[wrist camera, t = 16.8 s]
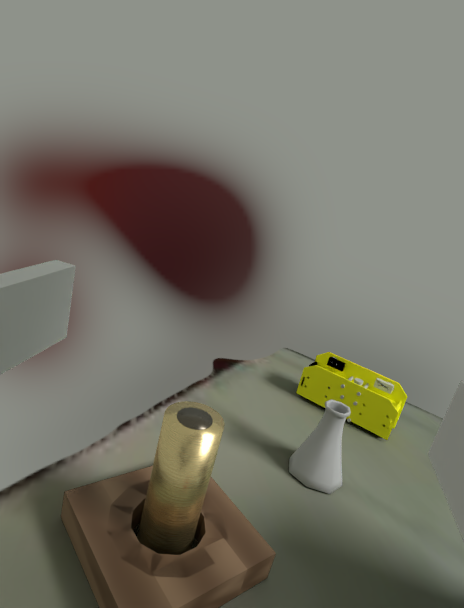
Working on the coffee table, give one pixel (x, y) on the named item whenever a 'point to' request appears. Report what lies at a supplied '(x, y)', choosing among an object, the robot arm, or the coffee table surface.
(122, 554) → the jig plate
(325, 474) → the flask
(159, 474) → the cylinder
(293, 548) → the coffee table surface
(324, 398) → the yellow toy chassis
